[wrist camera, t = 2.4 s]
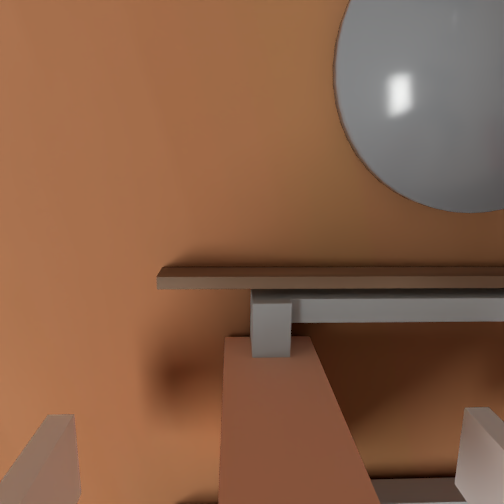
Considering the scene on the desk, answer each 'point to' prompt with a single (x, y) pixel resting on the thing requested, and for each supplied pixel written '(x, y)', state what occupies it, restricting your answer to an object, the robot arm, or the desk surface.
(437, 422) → the desk surface
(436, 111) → the coaster
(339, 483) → the frame
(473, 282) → the lane rack
